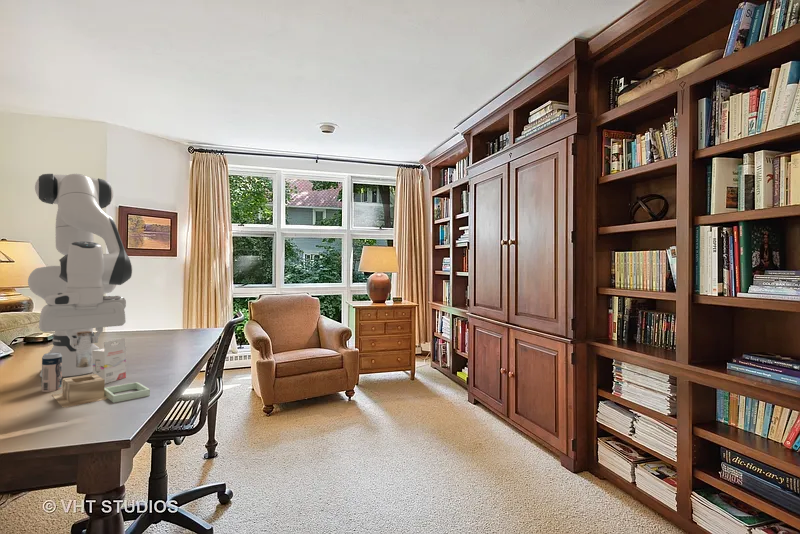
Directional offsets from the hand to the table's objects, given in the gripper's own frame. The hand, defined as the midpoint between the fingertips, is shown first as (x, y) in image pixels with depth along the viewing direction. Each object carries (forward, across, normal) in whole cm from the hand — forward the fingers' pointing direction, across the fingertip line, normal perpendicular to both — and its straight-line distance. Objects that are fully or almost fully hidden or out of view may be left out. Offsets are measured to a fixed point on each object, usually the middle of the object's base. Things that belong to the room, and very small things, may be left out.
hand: (84, 343), depth 122 cm
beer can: (+17, +5, -14) cm, 23 cm away
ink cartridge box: (+17, -10, -14) cm, 24 cm away
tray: (+16, -9, +8) cm, 20 cm away
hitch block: (+16, 0, +1) cm, 16 cm away
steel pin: (+7, 0, 0) cm, 7 cm away
